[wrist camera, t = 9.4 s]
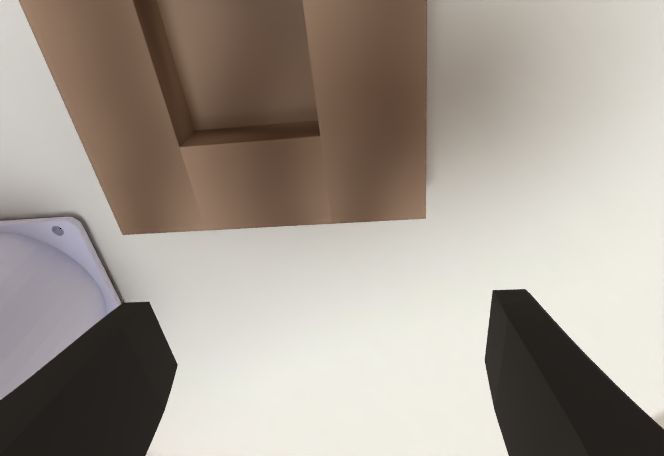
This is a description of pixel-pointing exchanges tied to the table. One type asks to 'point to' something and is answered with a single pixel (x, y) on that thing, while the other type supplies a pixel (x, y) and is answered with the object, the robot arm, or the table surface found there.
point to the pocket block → (244, 108)
